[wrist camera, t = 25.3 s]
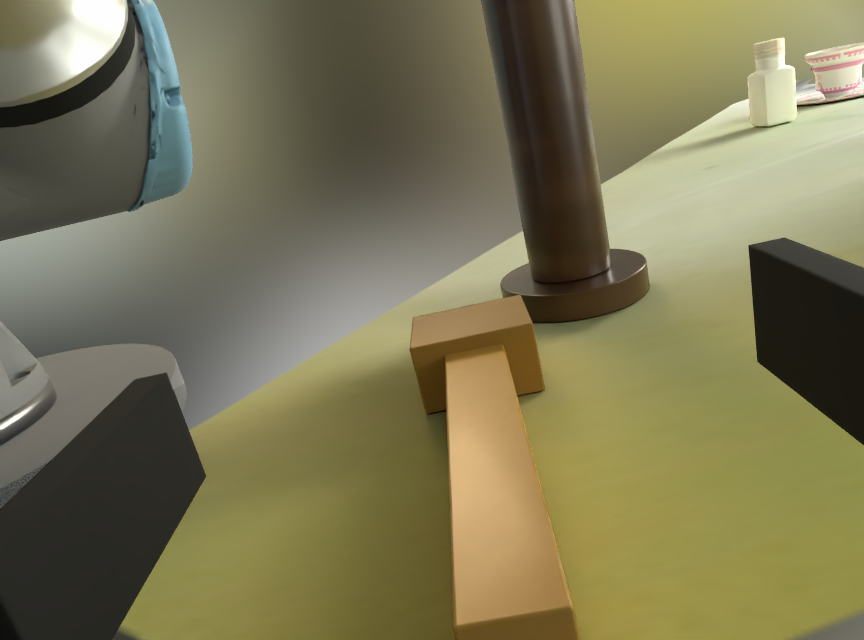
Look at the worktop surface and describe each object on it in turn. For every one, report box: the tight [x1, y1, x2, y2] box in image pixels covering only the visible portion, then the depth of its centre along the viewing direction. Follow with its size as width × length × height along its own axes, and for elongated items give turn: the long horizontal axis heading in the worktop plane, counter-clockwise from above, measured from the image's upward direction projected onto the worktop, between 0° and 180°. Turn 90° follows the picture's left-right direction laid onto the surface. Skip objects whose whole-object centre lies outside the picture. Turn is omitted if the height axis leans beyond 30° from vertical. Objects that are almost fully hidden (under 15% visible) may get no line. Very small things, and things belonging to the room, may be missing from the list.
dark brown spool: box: [481, 0, 650, 322], centre depth 33 cm, size 10×10×30 cm
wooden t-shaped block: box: [410, 295, 580, 640], centre depth 22 cm, size 5×18×3 cm, turn 0°
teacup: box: [796, 42, 864, 105], centre depth 90 cm, size 12×12×6 cm
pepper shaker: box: [748, 38, 797, 126], centre depth 79 cm, size 4×4×10 cm
